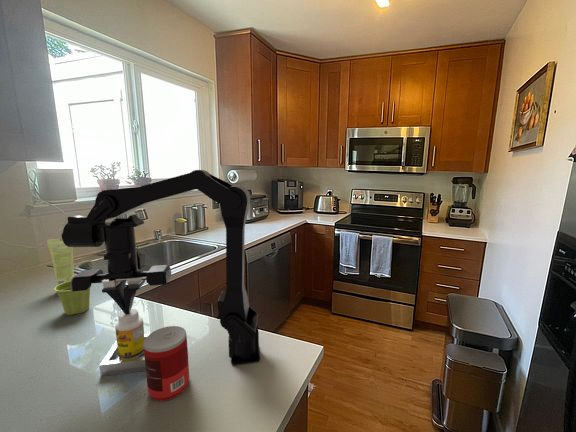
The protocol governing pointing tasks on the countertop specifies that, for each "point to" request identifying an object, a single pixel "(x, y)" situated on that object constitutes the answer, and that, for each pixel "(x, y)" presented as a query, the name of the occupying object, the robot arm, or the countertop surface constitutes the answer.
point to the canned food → (166, 362)
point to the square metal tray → (121, 363)
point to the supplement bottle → (130, 335)
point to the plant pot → (73, 298)
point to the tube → (61, 260)
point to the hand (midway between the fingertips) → (127, 313)
